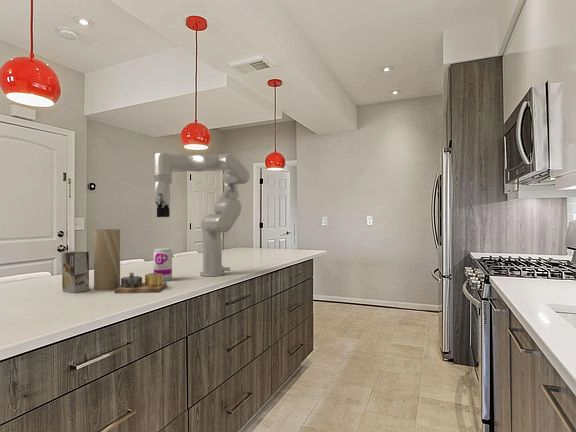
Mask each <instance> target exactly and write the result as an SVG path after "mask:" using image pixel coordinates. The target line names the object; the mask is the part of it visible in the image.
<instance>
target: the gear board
mask: <svg viewBox="0 0 576 432" xmlns="http://www.w3.org/2000/svg"><path fill="white" fill-rule="evenodd" d="M134 274H135V273H134V272H129V276H124V277H120V287H118V288H116V289H113V290H114V294H137V293H138V294H140V293H141V294H142V293H145V294H146V293H147V294H148V293H159V292H160V291H162V290H163V289H164V288H165V287H167V281H162V285H159V286H151V287H150V286H145V282H143V277H142V276H139V275H137V276H134ZM151 274H152V275H156V273H154V272H151Z"/></svg>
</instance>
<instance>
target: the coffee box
mask: <svg viewBox="0 0 576 432" xmlns="http://www.w3.org/2000/svg"><path fill="white" fill-rule="evenodd" d="M89 254H90V253H89V251H83V250H82V251H81V250H73V251H71V250H70V251H64V252H63V251H62V252H61V267H62V269H61V271H62V272H61V273H62V274H61V276H62V281H61V283H62V284H61V285H62V286H61V287H62V291H63V292H67V293H74V294H77V293H81V292H86V291H90V262H89V261H90V255H89Z"/></svg>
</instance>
